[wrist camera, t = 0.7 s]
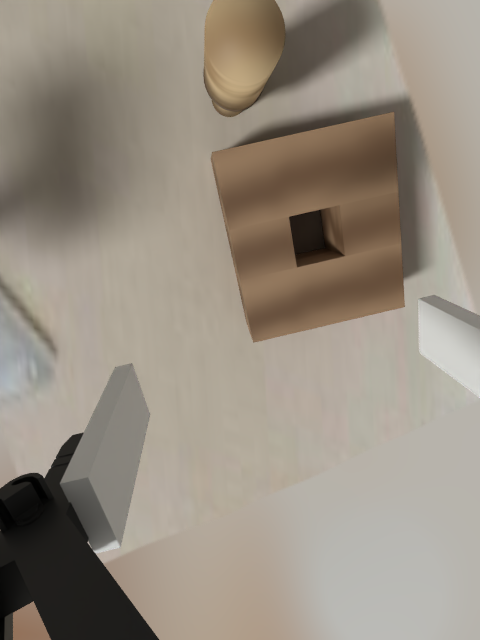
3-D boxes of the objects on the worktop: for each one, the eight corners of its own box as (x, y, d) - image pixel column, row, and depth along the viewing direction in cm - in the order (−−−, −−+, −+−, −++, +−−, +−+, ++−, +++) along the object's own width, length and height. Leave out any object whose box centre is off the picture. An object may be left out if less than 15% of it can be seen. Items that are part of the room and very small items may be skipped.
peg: (197, 72, 33) (194, -9, 20) (248, 61, 33) (278, -26, 20) (210, 130, 35) (214, 89, 22) (258, 119, 35) (292, 72, 22)
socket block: (210, 159, 36) (212, 152, 30) (364, 125, 36) (394, 111, 31) (246, 323, 42) (253, 342, 36) (377, 292, 42) (404, 306, 37)
